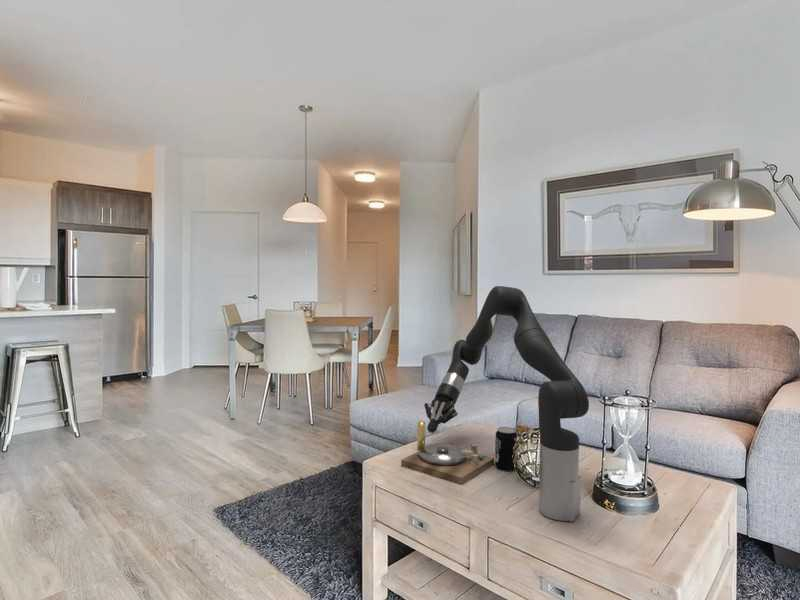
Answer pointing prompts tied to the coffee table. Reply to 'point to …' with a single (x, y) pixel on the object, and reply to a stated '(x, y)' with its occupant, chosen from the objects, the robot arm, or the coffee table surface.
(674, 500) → the coffee table surface
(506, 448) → the beverage can
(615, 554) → the coffee table surface
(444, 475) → the turntable
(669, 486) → the coffee table surface
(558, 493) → the robot arm
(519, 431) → the lion figurine
